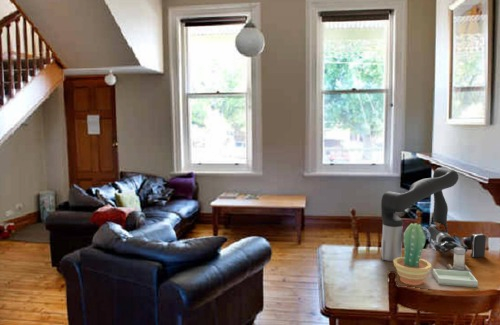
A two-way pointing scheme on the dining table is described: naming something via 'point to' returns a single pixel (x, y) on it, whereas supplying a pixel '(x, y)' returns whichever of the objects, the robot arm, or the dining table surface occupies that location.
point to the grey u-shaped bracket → (459, 269)
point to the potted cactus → (413, 256)
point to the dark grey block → (478, 245)
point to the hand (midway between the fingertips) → (454, 251)
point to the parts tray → (455, 278)
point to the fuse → (459, 258)
